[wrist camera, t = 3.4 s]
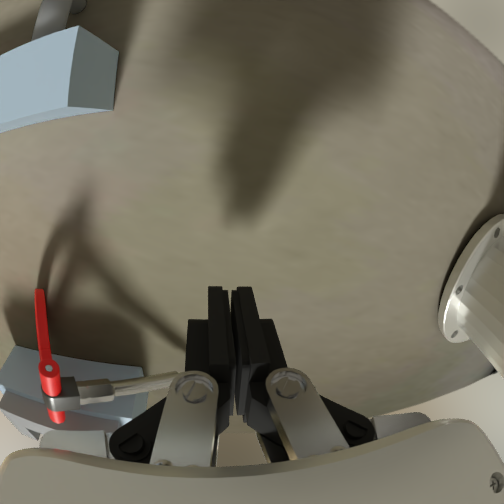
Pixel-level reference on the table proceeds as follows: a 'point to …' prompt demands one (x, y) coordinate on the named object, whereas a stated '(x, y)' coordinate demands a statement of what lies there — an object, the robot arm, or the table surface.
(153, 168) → the table surface
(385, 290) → the table surface
